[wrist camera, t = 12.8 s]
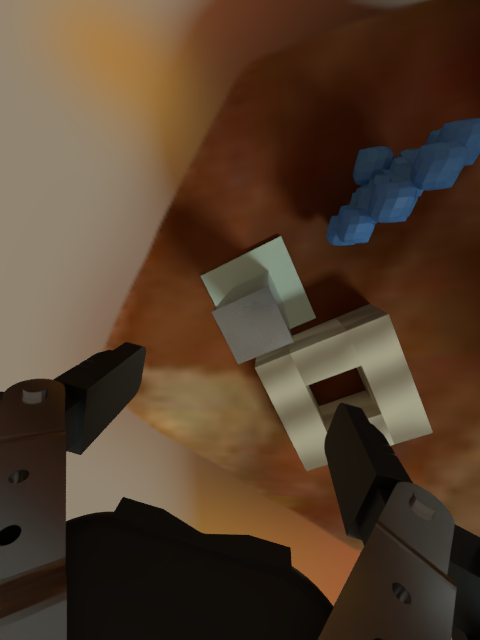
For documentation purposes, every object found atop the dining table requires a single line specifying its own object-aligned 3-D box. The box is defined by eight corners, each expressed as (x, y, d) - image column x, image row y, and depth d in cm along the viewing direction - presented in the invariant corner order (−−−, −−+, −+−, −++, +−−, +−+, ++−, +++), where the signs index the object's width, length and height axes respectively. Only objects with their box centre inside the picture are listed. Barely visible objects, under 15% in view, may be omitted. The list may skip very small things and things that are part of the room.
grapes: (392, 122, 26) (488, 25, 15) (433, 179, 27) (554, 129, 16) (295, 211, 29) (313, 188, 18) (335, 259, 30) (377, 268, 18)
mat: (315, 317, 32) (316, 317, 31) (238, 349, 34) (238, 350, 33) (280, 236, 30) (280, 236, 29) (201, 275, 32) (200, 276, 32)
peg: (284, 306, 31) (293, 342, 20) (249, 322, 32) (238, 364, 21) (268, 270, 31) (268, 285, 19) (232, 287, 31) (211, 311, 20)
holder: (409, 405, 33) (432, 432, 29) (301, 441, 36) (306, 470, 31) (369, 303, 31) (388, 314, 26) (256, 350, 34) (254, 367, 29)
